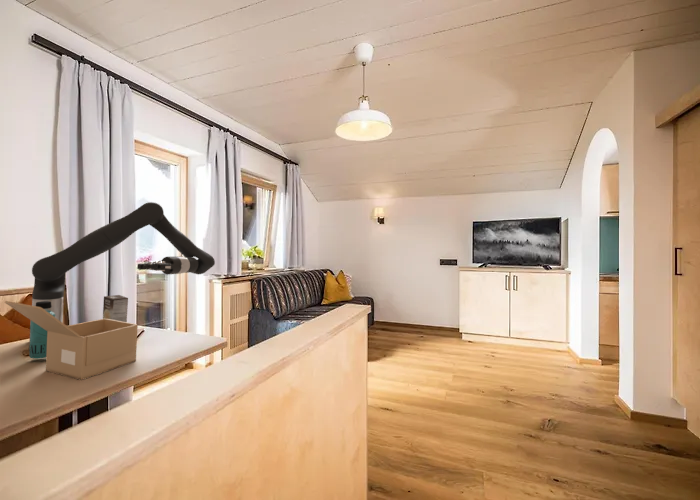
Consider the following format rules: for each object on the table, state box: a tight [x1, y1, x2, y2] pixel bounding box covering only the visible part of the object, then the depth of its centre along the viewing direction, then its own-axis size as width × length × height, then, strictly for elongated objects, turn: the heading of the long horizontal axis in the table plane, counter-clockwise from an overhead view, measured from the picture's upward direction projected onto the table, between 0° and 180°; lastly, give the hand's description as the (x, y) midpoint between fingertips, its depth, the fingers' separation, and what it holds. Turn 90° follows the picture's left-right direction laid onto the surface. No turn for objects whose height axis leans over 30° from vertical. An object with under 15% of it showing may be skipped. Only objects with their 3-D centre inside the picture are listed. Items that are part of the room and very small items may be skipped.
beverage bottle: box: [28, 301, 55, 360], centre depth 115 cm, size 6×7×20 cm
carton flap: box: [4, 300, 81, 338], centre depth 99 cm, size 15×15×1 cm
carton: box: [45, 318, 138, 381], centre depth 113 cm, size 17×18×13 cm
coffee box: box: [102, 294, 129, 322], centre depth 150 cm, size 9×6×16 cm
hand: (138, 266), depth 130 cm, fingers closed
